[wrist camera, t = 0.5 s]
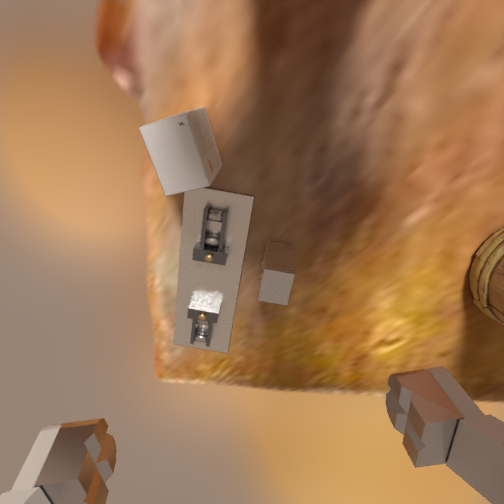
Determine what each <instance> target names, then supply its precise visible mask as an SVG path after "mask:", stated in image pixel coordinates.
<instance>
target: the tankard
mask: <svg viewBox="0 0 504 504" xmlns="http://www.w3.org/2000/svg"><path fill="white" fill-rule="evenodd" d="M469 282H470V289H471V292H472V295H473V297H474V300H473V302H474V304H475V305H476V306H477V307H478V308H479V309H480V310H481V311H482V312H483V313H484V314H486V315H487V316H489V317H490V318H492V319H494V320H496V321H497V322H499V323H500V324H502V325H503V326H504V227H503V228H501V229H500V230H498V231H496V232H495V233H493V234H492V235H491V236H490V237H489V238H488V239H487V240H486V241H485V242H484V244H483V245H482V246H481V247H480V248H479V250H478V251H477V253H476V256H475V258H474V261H473V263H472V266H471V270H470V275H469Z"/></svg>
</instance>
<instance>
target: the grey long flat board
mask: <svg viewBox="0 0 504 504" xmlns="http://www.w3.org/2000/svg"><path fill="white" fill-rule="evenodd" d="M253 200H254V196H250V195H244V194H239V193H233V192H227V191H222V190H216V189H210V188H205V187H204V188H200V189H196V190H192V191H187V192H184V204H183V218H182V232H181V246H180V260H179V274H178V288H177V302H176V316H175V330H174V344H176V345H182V346H188V347H194V348H200V349H205V350H211V351H217V352H223V353H228V348H229V342H230V336H231V330H232V324H233V318H234V312H235V306H236V300H237V294H238V289H239V283H240V277H241V271H242V265H243V259H244V253H245V247H246V241H247V235H248V230H249V224H250V218H251V212H252V206H253Z"/></svg>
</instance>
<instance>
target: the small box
mask: <svg viewBox="0 0 504 504" xmlns="http://www.w3.org/2000/svg"><path fill="white" fill-rule="evenodd" d="M139 130H140V133H141V135H142V138H143V140H144V143H145V145H146V148H147V151H148V153H149V156H150V158H151V161H152V163H153V166H154V168H155V171H156V173H157V176H158V178H159V181H160V184H161V186H162V189H163V191H164V194H165V196H170V195H175V194H179V193H183V192H187V191H192V190H196V189H200V188H204V187H208V186H210V185H211V183H212V182H213V180H214V179H215V177H216V176H217V174H218V172H219V171H220V169H221V167H222V166H223V164H222V161H221V158H220V154H219V151H218V148H217V144H216V141H215V138H214V135H213V131H212V128H211V125H210V121H209V118H208V115H207V111H206V108H205V107H201V108H197V109H193V110H190V111H186V112H182V113H179V114H176V115H173V116H170V117H167V118H164V119H161V120H158V121H155V122H153V123H150V124H147V125H144V126H141V127H140V128H139Z"/></svg>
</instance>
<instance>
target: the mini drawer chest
mask: <svg viewBox="0 0 504 504" xmlns="http://www.w3.org/2000/svg"><path fill="white" fill-rule="evenodd" d="M294 276H295V269H294V257H293V246H292V245H291V244H286V243H280V242H274V241H269V240H267V241H266V246H265V251H264V256H263V257H262V262H261V274H260V284H259V295H258V301H263V302H269V303H275V304H280V305H286V306H287V304H288V300H289V296H290V292H291V288H292V284H293V280H294Z"/></svg>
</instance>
